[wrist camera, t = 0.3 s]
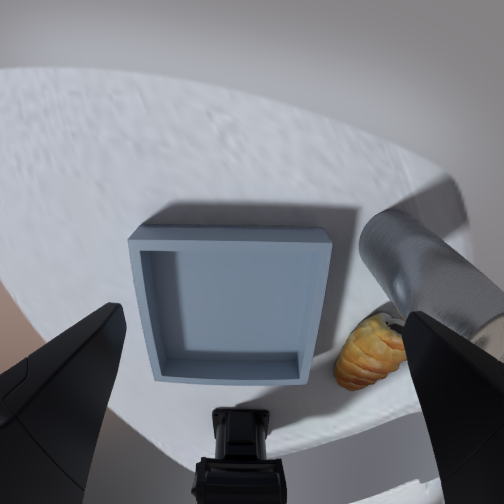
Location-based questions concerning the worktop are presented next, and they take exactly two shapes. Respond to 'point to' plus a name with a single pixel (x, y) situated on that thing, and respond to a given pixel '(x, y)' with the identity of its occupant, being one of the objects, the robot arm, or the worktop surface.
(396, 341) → the pastry
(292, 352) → the bin
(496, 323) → the canister
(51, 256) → the worktop surface
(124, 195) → the worktop surface
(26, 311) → the worktop surface
